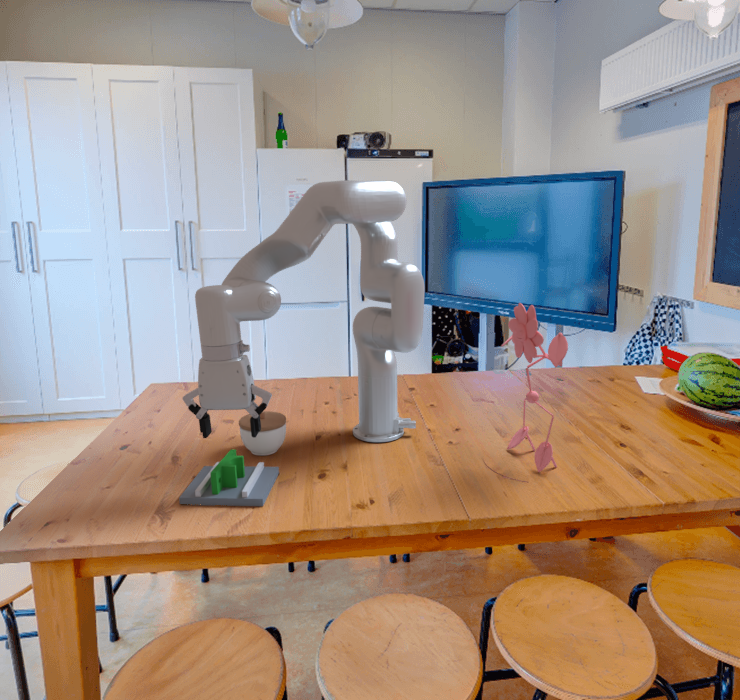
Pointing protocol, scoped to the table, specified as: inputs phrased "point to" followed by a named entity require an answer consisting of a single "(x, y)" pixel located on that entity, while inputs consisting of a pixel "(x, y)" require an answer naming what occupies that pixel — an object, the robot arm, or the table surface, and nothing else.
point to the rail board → (246, 494)
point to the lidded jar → (264, 433)
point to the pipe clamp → (227, 472)
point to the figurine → (525, 343)
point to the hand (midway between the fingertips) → (231, 435)
